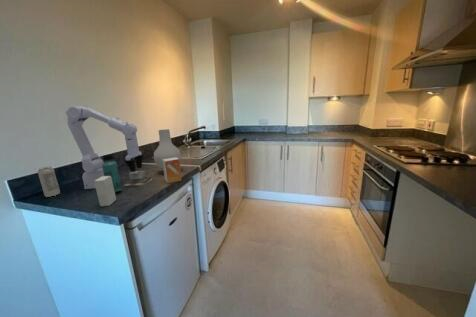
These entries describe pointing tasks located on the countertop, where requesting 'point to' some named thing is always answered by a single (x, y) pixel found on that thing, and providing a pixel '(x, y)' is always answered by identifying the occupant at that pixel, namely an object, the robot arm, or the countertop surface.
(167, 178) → the small box
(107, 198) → the skincare box
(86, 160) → the robot arm
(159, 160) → the vase
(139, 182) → the channel board
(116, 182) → the beverage bottle
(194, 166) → the countertop surface
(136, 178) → the lock block
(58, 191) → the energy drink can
